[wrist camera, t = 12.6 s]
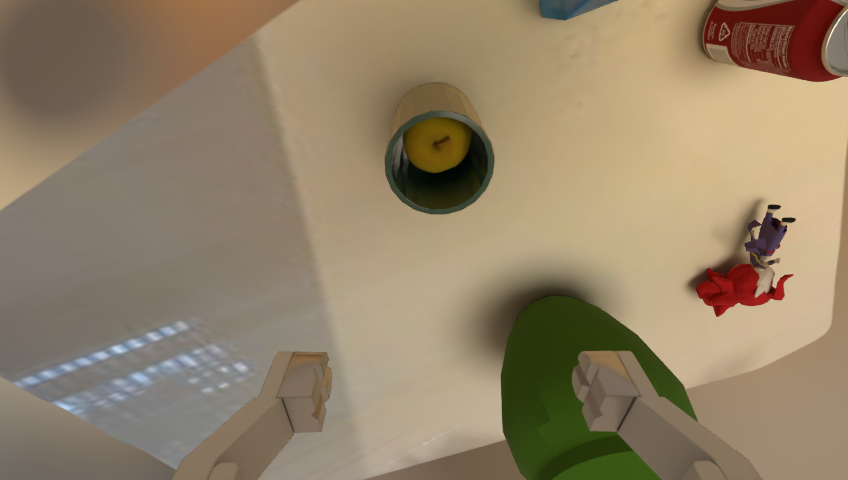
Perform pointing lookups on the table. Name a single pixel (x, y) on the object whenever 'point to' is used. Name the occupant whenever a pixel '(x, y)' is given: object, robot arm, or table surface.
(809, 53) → the soda can
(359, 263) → the table surface
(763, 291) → the figurine
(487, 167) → the green cup
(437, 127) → the apple
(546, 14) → the perfume bottle
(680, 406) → the vase
